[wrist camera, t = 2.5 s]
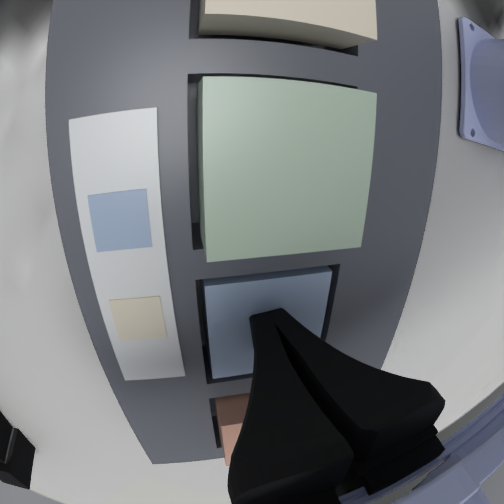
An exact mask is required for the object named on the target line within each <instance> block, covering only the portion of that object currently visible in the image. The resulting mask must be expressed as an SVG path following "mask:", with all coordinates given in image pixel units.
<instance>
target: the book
mask: <svg viewBox="0 0 504 504" xmlns="http://www.w3.org/2000/svg"><path fill="white" fill-rule="evenodd" d="M34 453H35V447H34V446H33V445H32V444H31V443H30V442H29V441H28V439H27V438H26V437H25V436H24V435H23V434H22V432H21V431H20V430H19V429H17V428H13V427H12V425H11V424H10V423H9V422H8V420H7V419H6V418H5V417H4V415H3V414H2V413H1V412H0V480H1V481H2V482H4V483H7V484H11V485H14V486H18V487H22V488H26V489H30V481H31V473H32V466H33V459H34Z"/></svg>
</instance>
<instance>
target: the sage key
mask: <svg viewBox="0 0 504 504" xmlns="http://www.w3.org/2000/svg"><path fill="white" fill-rule="evenodd" d="M376 104H377V93H373V92H368V91H363V90H358V89H353V88H347V87H341V86H335V85H329V84H322V83H314V82H306V81H297V80H286V79H274V78H259V77H230V76H206V77H202V79H201V80H200V81H199V83H198V84H197V172H198V201H199V223H200V236H201V240H202V244H203V248H204V252H205V256H206V261H207V262H215V261H226V260H236V259H247V258H257V257H267V256H277V255H288V254H298V253H308V252H318V251H328V250H338V249H348V248H357V247H361V242H362V236H363V230H364V224H365V217H366V210H367V203H368V195H369V187H370V179H371V170H372V160H373V149H374V137H375V123H376Z"/></svg>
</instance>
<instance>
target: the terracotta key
mask: <svg viewBox="0 0 504 504" xmlns="http://www.w3.org/2000/svg"><path fill="white" fill-rule="evenodd" d="M249 396H250V392H249V393H243V394H237V395H231V396H224V397H217V398H214V399H215V407H216V415H217V422H218V429H219V437H220V441H221V446H222V450H223V454H224V458H225V462H226V466H230V461H231V455H232V452H233V450H234V447H235V444H236V442H237V439H238V437H239V434H240V431H241V427H242V424H243V421H244V417H245V414H246V410H247V406H248V401H249Z"/></svg>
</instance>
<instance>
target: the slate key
mask: <svg viewBox="0 0 504 504" xmlns="http://www.w3.org/2000/svg"><path fill="white" fill-rule="evenodd" d="M331 276H332V270H331V269H330V268H329V267H328V266H327V265H326V266H318V267H310V268H301V269H293V270H284V271H275V272H266V273H257V274H248V275H239V276H229V277H220V278H210V279H200V280H201V293H202V305H203V316H204V326H205V337H206V346H207V352H208V357H209V362H210V367H211V372H212V376H213V379H215V378H222V377H229V376H236V375H243V374H249V373H253V364H254V348H253V342H252V335H251V329H250V322H249V317H250V316H251V315H254V314H258V313H262V312H266V311H270V310H274V309H278V308H283V309H285V310H286V311H287V312H288V313H289V314H290V315H291V316H293V317H294V318H295V319H296V320H297V321H298V322H300V323H301V324H302V325H303V326H305V327H306V328H307V329H308V330H310V331H311V332H312V333H314V334H315V335H317V336H318V337H319V338H320V337H321V332H322V327H323V322H324V317H325V311H326V306H327V300H328V294H329V289H330V283H331Z"/></svg>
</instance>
